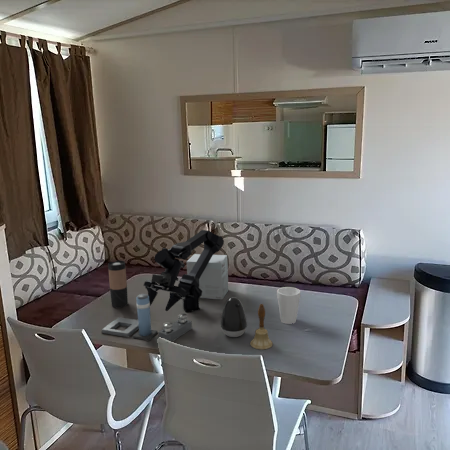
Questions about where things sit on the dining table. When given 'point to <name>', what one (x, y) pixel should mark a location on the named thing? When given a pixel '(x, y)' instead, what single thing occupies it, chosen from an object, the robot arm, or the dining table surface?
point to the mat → (145, 336)
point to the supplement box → (212, 276)
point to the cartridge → (143, 314)
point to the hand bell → (261, 333)
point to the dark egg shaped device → (233, 318)
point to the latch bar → (176, 330)
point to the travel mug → (118, 283)
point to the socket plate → (120, 321)
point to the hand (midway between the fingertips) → (157, 308)
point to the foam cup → (288, 304)
